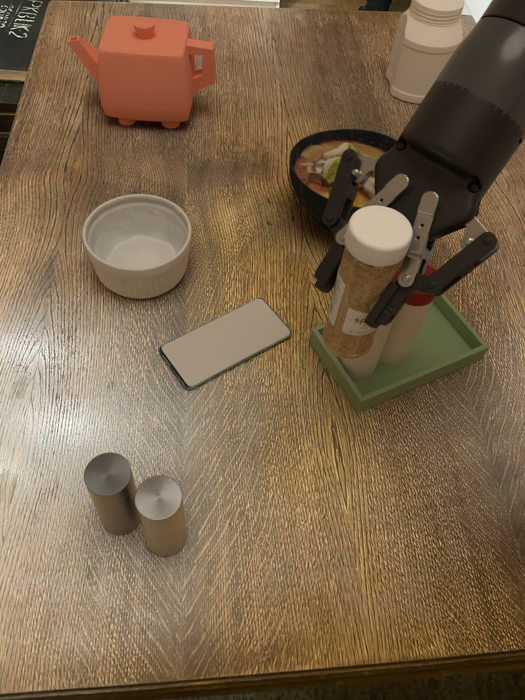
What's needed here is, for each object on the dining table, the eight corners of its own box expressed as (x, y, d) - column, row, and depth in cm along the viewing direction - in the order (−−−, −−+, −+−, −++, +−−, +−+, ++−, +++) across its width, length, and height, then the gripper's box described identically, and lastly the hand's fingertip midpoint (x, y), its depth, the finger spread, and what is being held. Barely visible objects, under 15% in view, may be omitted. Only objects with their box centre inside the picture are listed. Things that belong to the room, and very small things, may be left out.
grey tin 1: (147, 526, 59) (136, 486, 51) (107, 541, 58) (89, 502, 50) (136, 490, 61) (124, 446, 53) (96, 504, 60) (78, 461, 52)
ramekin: (200, 301, 76) (199, 263, 71) (93, 314, 74) (83, 275, 68) (185, 229, 84) (183, 189, 78) (88, 238, 81) (79, 198, 76)
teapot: (73, 127, 95) (54, 37, 84) (88, 82, 103) (73, -6, 91) (212, 137, 96) (212, 49, 85) (218, 92, 104) (218, 6, 92)
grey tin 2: (192, 547, 58) (188, 510, 50) (152, 563, 57) (142, 527, 49) (179, 510, 61) (173, 468, 52) (140, 524, 59) (128, 484, 51)
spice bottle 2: (415, 359, 73) (449, 287, 62) (382, 370, 71) (411, 299, 61) (396, 330, 75) (426, 256, 64) (363, 340, 74) (389, 267, 63)
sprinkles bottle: (357, 369, 51) (396, 258, 40) (311, 343, 52) (337, 228, 41) (381, 334, 53) (425, 220, 43) (337, 310, 55) (368, 193, 44)
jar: (383, 67, 112) (404, -21, 100) (434, 70, 112) (460, -17, 100) (392, 103, 105) (415, 14, 93) (446, 105, 106) (476, 17, 94)
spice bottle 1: (382, 373, 71) (411, 301, 61) (348, 384, 70) (371, 314, 59) (363, 343, 74) (389, 269, 63) (330, 354, 72) (350, 281, 62)
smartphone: (156, 347, 71) (261, 295, 77) (157, 350, 71) (260, 298, 77) (187, 390, 68) (294, 333, 74) (187, 392, 68) (293, 335, 74)
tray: (428, 295, 80) (434, 282, 77) (481, 359, 74) (489, 346, 72) (308, 340, 74) (311, 327, 72) (356, 413, 68) (361, 401, 66)
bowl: (424, 231, 87) (446, 174, 79) (326, 272, 81) (339, 215, 73) (355, 163, 95) (368, 105, 87) (261, 196, 89) (266, 137, 81)
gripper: (386, 42, 42) (257, 252, 46) (574, 136, 37) (409, 362, 41) (409, 85, 49) (295, 265, 53) (571, 170, 44) (430, 361, 48)
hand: (346, 306), depth 47 cm, fingers closed on sprinkles bottle, 4 cm apart
